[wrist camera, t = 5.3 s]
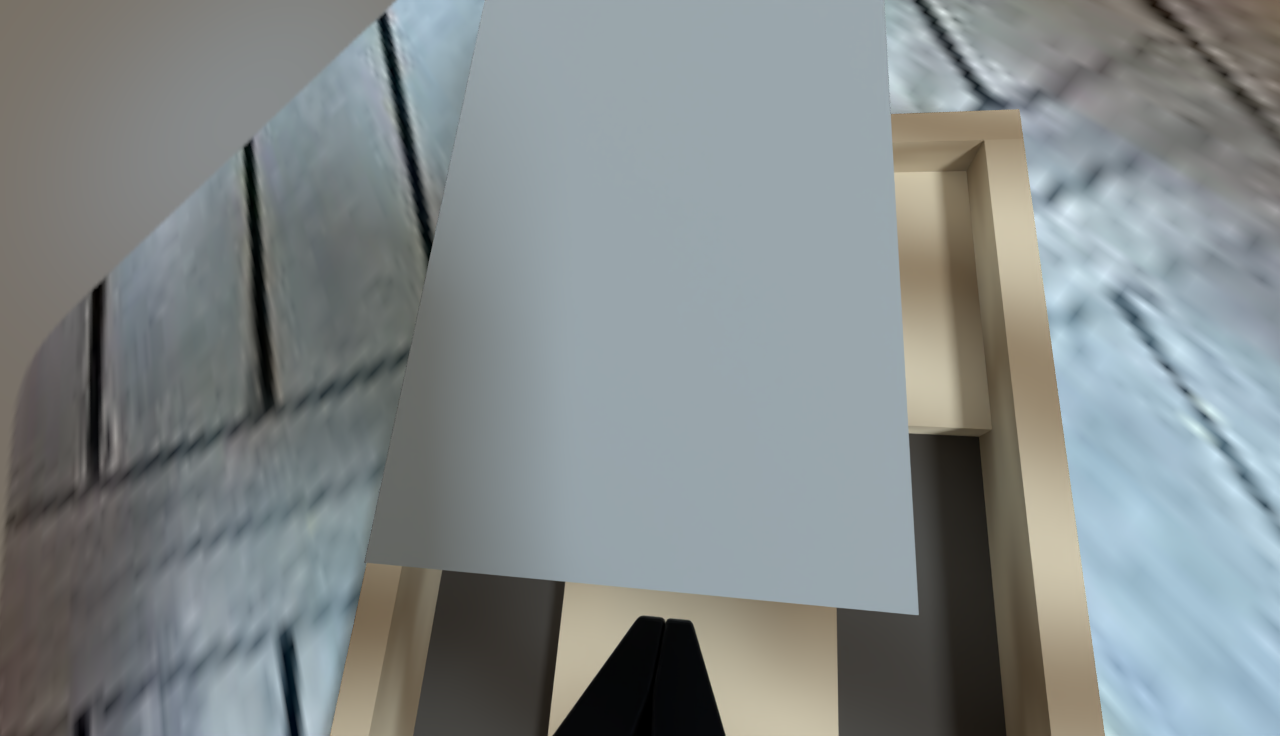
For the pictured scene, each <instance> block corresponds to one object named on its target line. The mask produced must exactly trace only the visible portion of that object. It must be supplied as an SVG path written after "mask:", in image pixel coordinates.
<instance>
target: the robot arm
mask: <svg viewBox="0 0 1280 736" xmlns="http://www.w3.org/2000/svg"><path fill="white" fill-rule="evenodd" d="M553 736H726V734H725V731H724V728H723V724H722V721H721V717H720V714H719V710H718V707H717V704H716V700H715V697H714V693H713V690H712V686H711V683H710V679H709V676H708V673H707V669H706V666H705V662H704V659H703V655H702V652H701V649H700V645H699V642H698V638H697V635H696V631H695V628H694V625H693V623H692V622H691V621H690V620H684V619H674V618H669V619H667V620H666V622H665V619H663V618H662V617H655V616H645V615H643V616H640V617H638V618H637V619H636V621H635V622H634V623H633V625H632V626H631V627H630V629H629V630H628V632H627V633H626V634H625V636H624V637H623V638H622V640H621V641H620V643H619V644H618V645H617V647H616V648H615V650H614V651H613V652H612V654H611V655H610V657H609V658H608V659H607V661H606V662H605V663H604V665H603V666H602V668H601V669H600V670H599V672H598V673H597V675H596V676H595V677H594V679H593V680H592V682H591V683H590V684H589V686H588V687H587V688H586V690H585V691H584V693H583V694H582V695H581V697H580V698H579V700H578V701H577V702H576V704H575V705H574V706H573V708H572V709H571V711H570V712H569V713H568V715H567V716H566V718H565V719H564V720H563V722H562V723H561V725H560V726H559V727H558V729H557V730H556V731H555V733H554V734H553Z"/></svg>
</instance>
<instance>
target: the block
mask: <svg viewBox="0 0 1280 736" xmlns="http://www.w3.org/2000/svg"><path fill="white" fill-rule="evenodd" d="M364 563H374V564H385V565H395V566H406V567H416V568H427V569H437V570H448V571H459V572H469V573H480V574H490V575H501V576H511V577H522V578H532V579H543V580H553V581H564V582H574V583H585V584H595V585H606V586H616V587H627V588H637V589H648V590H658V591H669V592H679V593H690V594H700V595H711V596H721V597H732V598H742V599H753V600H763V601H774V602H785V603H795V604H806V605H816V606H827V607H837V608H848V609H858V610H869V611H879V612H890V613H900V614H911V615H919V609H918V591H917V573H916V555H915V538H914V520H913V502H912V484H911V466H910V449H909V431H908V413H907V395H906V377H905V360H904V342H903V324H902V306H901V288H900V271H899V253H898V235H897V217H896V199H895V182H894V164H893V146H892V128H891V110H890V93H889V75H888V57H887V39H886V21H885V4H884V0H485V2H484V7H483V11H482V16H481V21H480V25H479V30H478V35H477V39H476V44H475V49H474V53H473V58H472V63H471V67H470V72H469V77H468V81H467V86H466V91H465V95H464V100H463V105H462V109H461V114H460V119H459V123H458V128H457V133H456V137H455V142H454V147H453V151H452V156H451V161H450V165H449V170H448V175H447V179H446V184H445V189H444V193H443V198H442V203H441V207H440V212H439V217H438V221H437V226H436V231H435V236H434V240H433V245H432V250H431V254H430V259H429V264H428V268H427V273H426V278H425V282H424V287H423V292H422V296H421V301H420V306H419V310H418V315H417V320H416V324H415V329H414V334H413V338H412V343H411V348H410V352H409V357H408V362H407V366H406V371H405V376H404V380H403V385H402V390H401V394H400V399H399V404H398V408H397V413H396V418H395V422H394V427H393V432H392V436H391V441H390V446H389V450H388V455H387V460H386V464H385V469H384V474H383V478H382V483H381V488H380V492H379V497H378V502H377V506H376V511H375V516H374V520H373V525H372V530H371V534H370V539H369V544H368V548H367V553H366V558H365V562H364Z"/></svg>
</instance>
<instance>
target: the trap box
mask: <svg viewBox="0 0 1280 736" xmlns="http://www.w3.org/2000/svg"><path fill="white" fill-rule="evenodd" d="M891 128H892V146H893V164H894V182H895V199H896V217H897V235H898V253H899V271H900V288H901V306H902V324H903V342H904V360H905V377H906V395H907V413H908V431H909V449H910V466H911V484H912V502H913V520H914V538H915V555H916V573H917V591H918V609H919V615H911V614H900V613H890V612H879V611H869V610H858V609H848V608H837V607H827V606H816V605H806V604H795V603H785V602H774V601H763V600H753V599H742V598H732V597H721V596H711V595H700V594H690V593H679V592H669V591H658V590H648V589H637V588H627V587H616V586H606V585H595V584H585V583H574V582H564V581H553V580H543V579H532V578H522V577H511V576H501V575H490V574H480V573H469V572H459V571H448V570H437V569H427V568H416V567H406V566H395V565H385V564H374V563H367V564H366V569H365V573H364V578H363V583H362V587H361V592H360V597H359V602H358V606H357V611H356V616H355V620H354V625H353V630H352V634H351V639H350V644H349V648H348V653H347V658H346V662H345V667H344V672H343V677H342V681H341V686H340V691H339V695H338V700H337V705H336V709H335V714H334V719H333V723H332V728H331V733H330V736H553V734H554V733H555V731H556V730H557V729H558V727H559V726H560V725H561V723H562V722H563V720H564V719H565V718H566V716H567V715H568V713H569V712H570V711H571V709H572V708H573V706H574V705H575V704H576V702H577V701H578V700H579V698H580V697H581V695H582V694H583V693H584V691H585V690H586V688H587V687H588V686H589V684H590V683H591V682H592V680H593V679H594V677H595V676H596V675H597V673H598V672H599V670H600V669H601V668H602V666H603V665H604V663H605V662H606V661H607V659H608V658H609V657H610V655H611V654H612V652H613V651H614V650H615V648H616V647H617V645H618V644H619V643H620V641H621V640H622V638H623V637H624V636H625V634H626V633H627V632H628V630H629V629H630V627H631V626H632V625H633V623H634V622H635V621H636V619H637V618H638V617H640V616H643V615H645V616H655V617H662V618H663V619H665V622H666V620H667V619H669V618H674V619H684V620H690V621H691V622H692V623H693V625H694V628H695V631H696V635H697V638H698V642H699V645H700V649H701V652H702V655H703V659H704V662H705V666H706V669H707V673H708V676H709V679H710V683H711V686H712V690H713V693H714V697H715V700H716V704H717V707H718V710H719V714H720V717H721V721H722V724H723V728H724V731H725V734H726V736H1105V733H1104V726H1103V719H1102V711H1101V704H1100V697H1099V689H1098V682H1097V675H1096V668H1095V660H1094V653H1093V646H1092V638H1091V631H1090V624H1089V616H1088V609H1087V602H1086V594H1085V587H1084V580H1083V572H1082V565H1081V558H1080V550H1079V543H1078V536H1077V528H1076V521H1075V514H1074V506H1073V499H1072V492H1071V485H1070V477H1069V470H1068V463H1067V455H1066V448H1065V441H1064V433H1063V426H1062V419H1061V411H1060V404H1059V397H1058V389H1057V382H1056V375H1055V367H1054V360H1053V353H1052V345H1051V338H1050V331H1049V323H1048V316H1047V309H1046V302H1045V294H1044V287H1043V280H1042V272H1041V265H1040V258H1039V250H1038V243H1037V236H1036V228H1035V221H1034V214H1033V206H1032V199H1031V192H1030V184H1029V177H1028V170H1027V162H1026V155H1025V148H1024V141H1023V133H1022V126H1021V119H1020V111H1019V109H1018V110H991V111H964V112H936V113H909V114H891Z"/></svg>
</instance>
